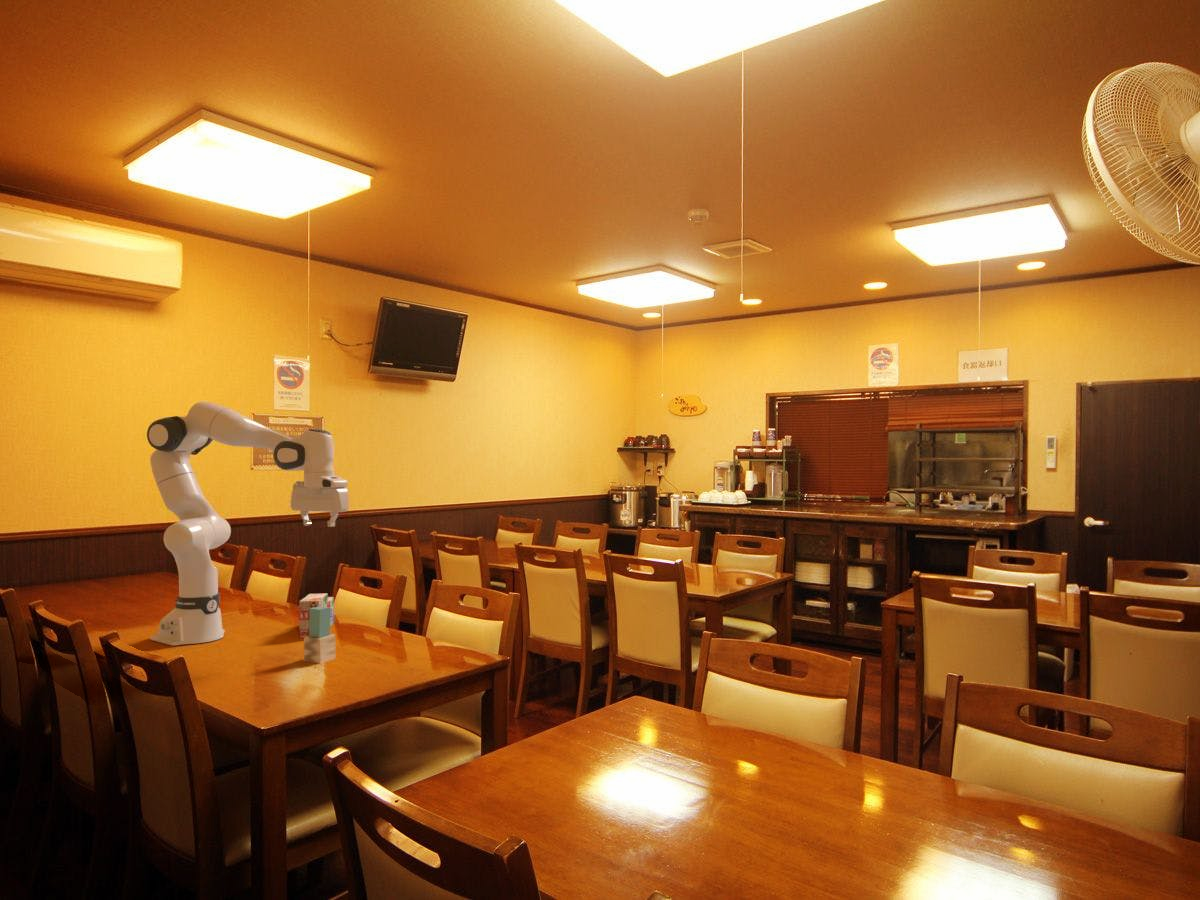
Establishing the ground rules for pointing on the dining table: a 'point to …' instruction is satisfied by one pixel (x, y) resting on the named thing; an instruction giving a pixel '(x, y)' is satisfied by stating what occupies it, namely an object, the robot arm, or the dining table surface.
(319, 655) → the tower base
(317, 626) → the pillar
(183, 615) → the robot arm
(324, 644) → the tower top
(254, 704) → the dining table surface
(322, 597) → the multicoloured boxy piece
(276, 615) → the dining table surface
